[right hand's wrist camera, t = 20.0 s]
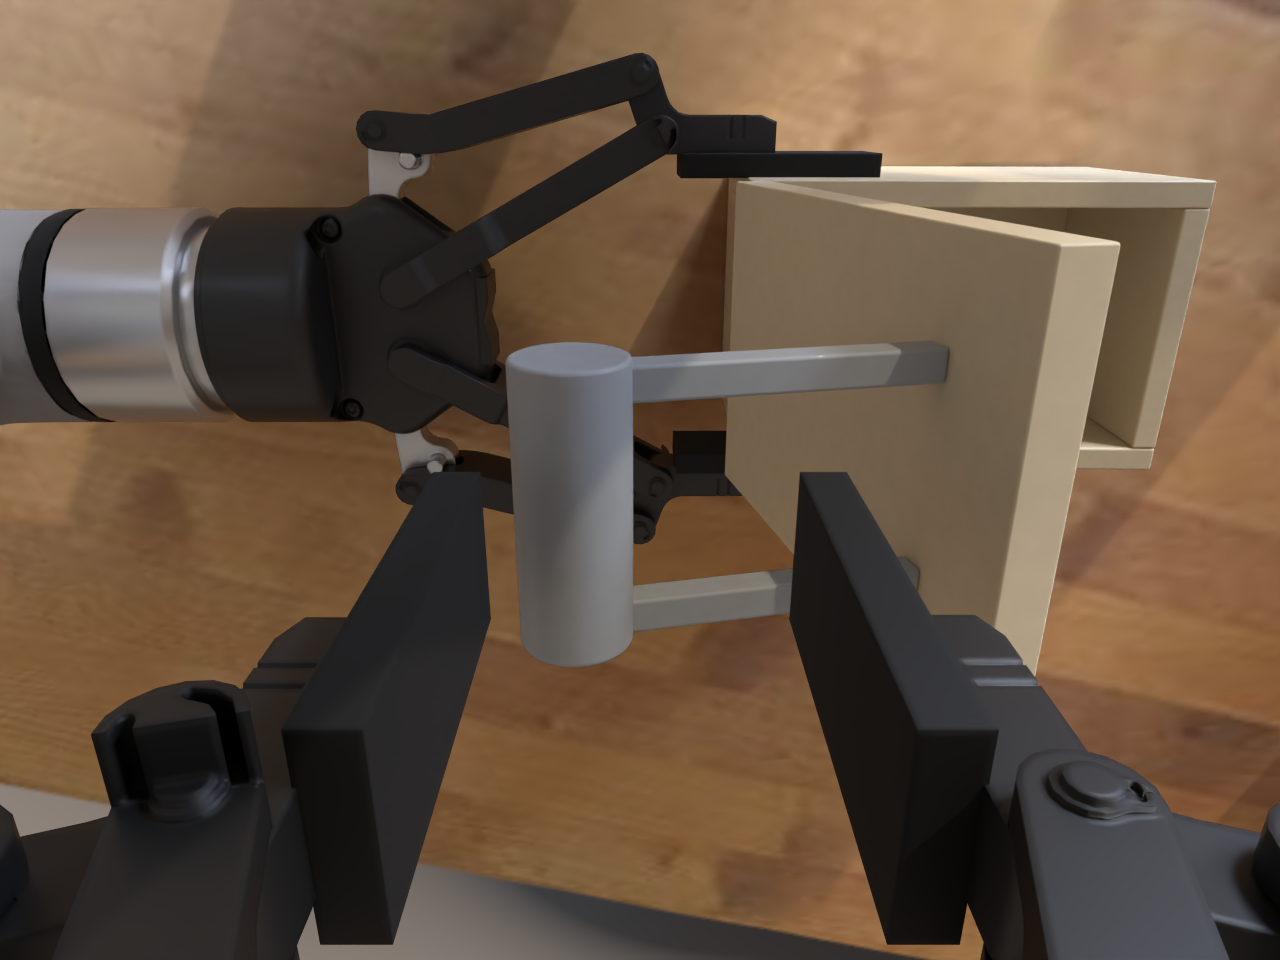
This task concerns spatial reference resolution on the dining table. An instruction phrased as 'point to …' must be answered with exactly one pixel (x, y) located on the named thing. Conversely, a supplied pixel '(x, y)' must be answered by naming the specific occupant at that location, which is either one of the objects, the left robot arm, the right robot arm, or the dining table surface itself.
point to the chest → (1089, 206)
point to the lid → (830, 417)
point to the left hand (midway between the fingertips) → (856, 316)
